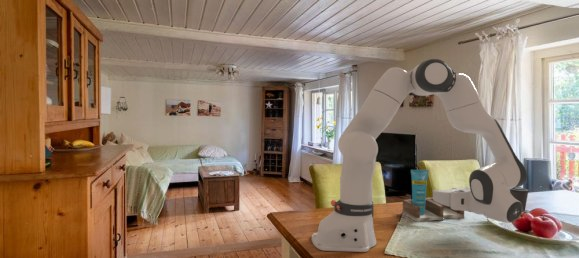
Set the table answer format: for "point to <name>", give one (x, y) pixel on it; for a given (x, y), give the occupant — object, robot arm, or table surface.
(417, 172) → the tube
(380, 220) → the table surface
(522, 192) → the coffee cup
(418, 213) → the brown wooden open box
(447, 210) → the endcap
